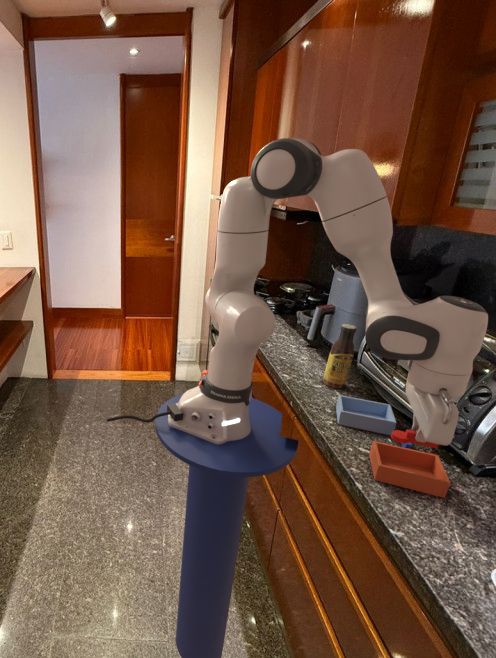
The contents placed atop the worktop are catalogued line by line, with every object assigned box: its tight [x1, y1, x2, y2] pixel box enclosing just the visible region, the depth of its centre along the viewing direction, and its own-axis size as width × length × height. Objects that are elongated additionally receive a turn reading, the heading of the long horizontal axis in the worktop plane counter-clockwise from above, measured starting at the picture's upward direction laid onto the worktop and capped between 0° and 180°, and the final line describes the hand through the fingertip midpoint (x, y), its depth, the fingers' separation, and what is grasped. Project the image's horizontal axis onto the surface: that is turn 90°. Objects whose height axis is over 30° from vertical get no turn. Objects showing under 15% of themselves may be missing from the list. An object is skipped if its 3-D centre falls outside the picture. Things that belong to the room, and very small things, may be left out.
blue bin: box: [335, 394, 397, 436], centre depth 104 cm, size 12×9×4 cm
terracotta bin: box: [368, 440, 451, 499], centre depth 84 cm, size 12×9×4 cm
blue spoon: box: [400, 431, 414, 450], centre depth 93 cm, size 8×3×2 cm, turn 154°
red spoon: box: [390, 429, 439, 449], centre depth 82 cm, size 8×3×2 cm, turn 64°
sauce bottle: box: [322, 323, 357, 389], centre depth 119 cm, size 7×6×20 cm
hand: (418, 436), depth 81 cm, fingers closed on red spoon, 1 cm apart
